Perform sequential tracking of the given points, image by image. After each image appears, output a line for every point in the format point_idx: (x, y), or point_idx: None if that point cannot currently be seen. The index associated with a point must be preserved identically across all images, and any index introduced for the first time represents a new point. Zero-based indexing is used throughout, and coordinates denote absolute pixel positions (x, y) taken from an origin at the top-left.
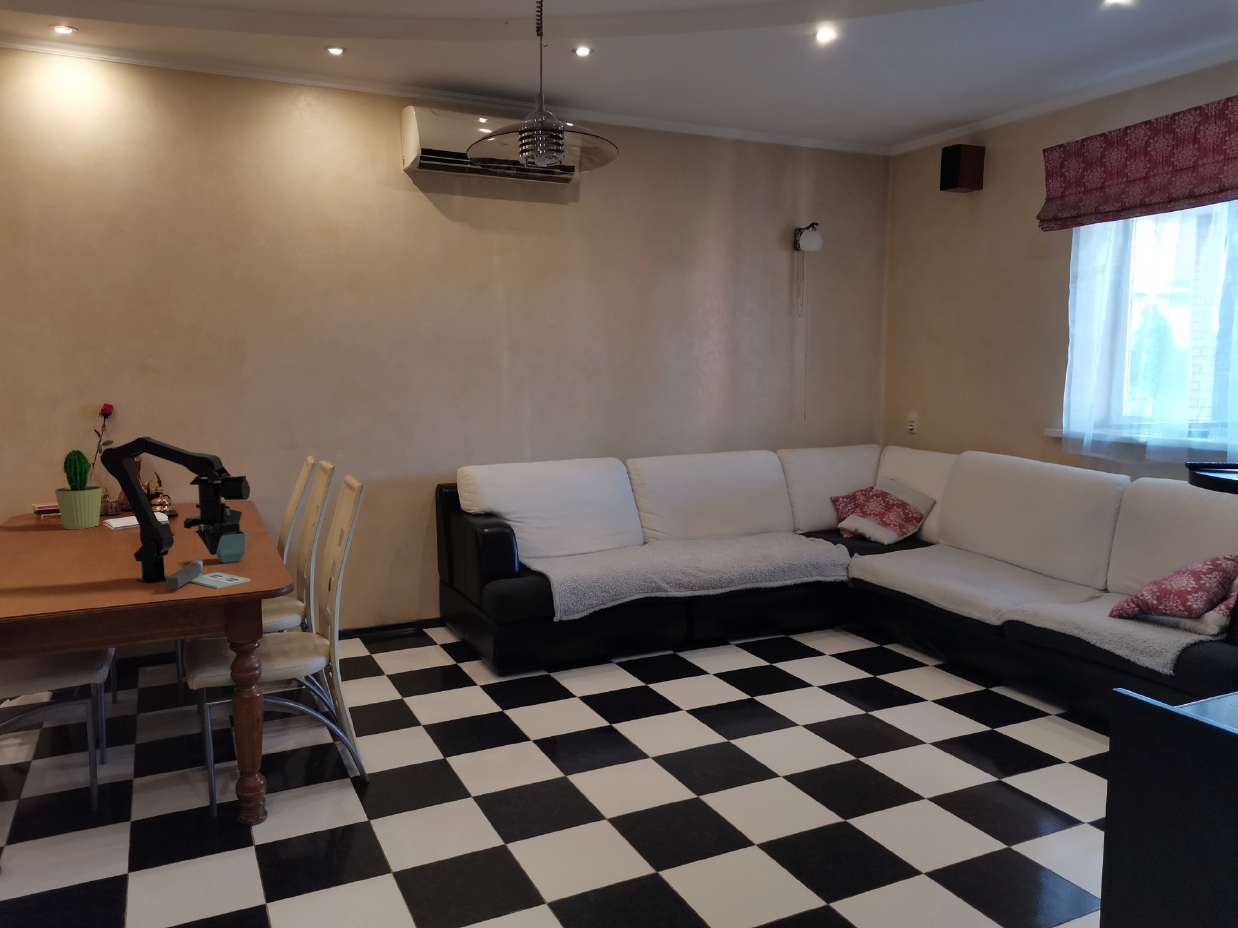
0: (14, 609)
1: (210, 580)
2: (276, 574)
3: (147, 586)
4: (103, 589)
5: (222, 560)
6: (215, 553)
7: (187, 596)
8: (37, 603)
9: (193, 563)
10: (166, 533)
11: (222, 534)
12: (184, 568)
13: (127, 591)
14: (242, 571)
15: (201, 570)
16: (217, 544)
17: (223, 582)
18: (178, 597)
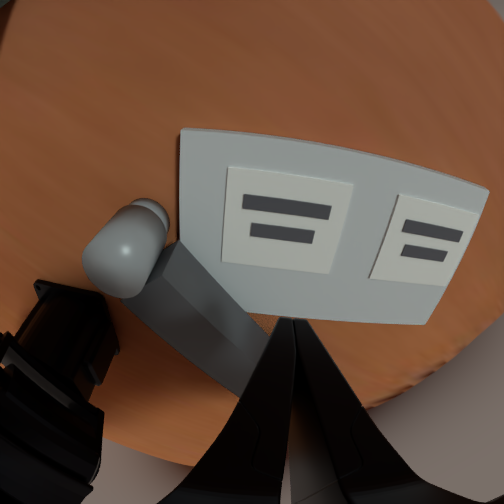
0: (158, 456)
1: (328, 281)
2: (500, 34)
3: (160, 369)
4: (111, 396)
5: (4, 4)
6: (307, 327)
7: (384, 387)
8: (144, 445)
9: (132, 293)
10: (27, 474)
11: (436, 494)
12: (206, 363)
13: (176, 402)
14: (268, 8)
15: (160, 234)
16: (350, 403)
17: (415, 282)
18: (366, 397)
